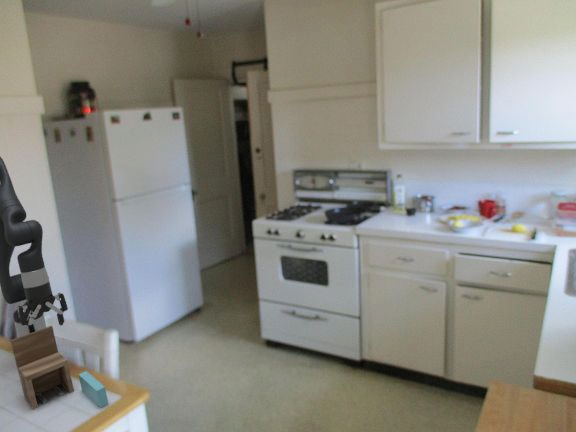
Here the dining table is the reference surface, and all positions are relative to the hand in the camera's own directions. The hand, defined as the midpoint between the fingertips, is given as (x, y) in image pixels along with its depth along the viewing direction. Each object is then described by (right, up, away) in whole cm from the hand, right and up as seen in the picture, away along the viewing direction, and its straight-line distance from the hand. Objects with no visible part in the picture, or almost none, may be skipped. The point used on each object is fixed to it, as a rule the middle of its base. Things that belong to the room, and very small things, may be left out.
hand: (47, 329), depth 159 cm
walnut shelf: (+3, -19, -6) cm, 20 cm away
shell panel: (+19, -19, -9) cm, 28 cm away
